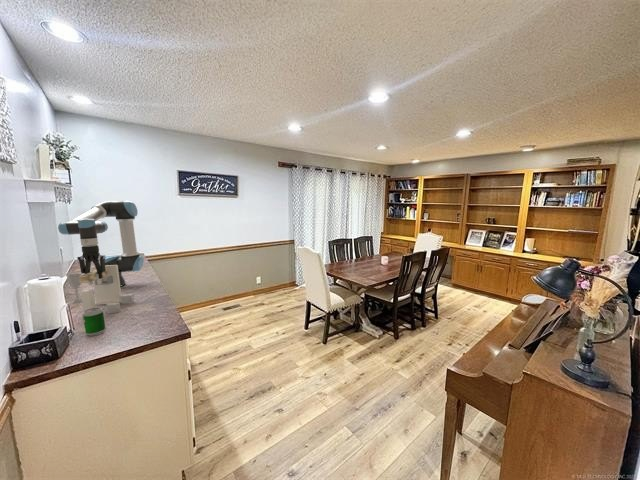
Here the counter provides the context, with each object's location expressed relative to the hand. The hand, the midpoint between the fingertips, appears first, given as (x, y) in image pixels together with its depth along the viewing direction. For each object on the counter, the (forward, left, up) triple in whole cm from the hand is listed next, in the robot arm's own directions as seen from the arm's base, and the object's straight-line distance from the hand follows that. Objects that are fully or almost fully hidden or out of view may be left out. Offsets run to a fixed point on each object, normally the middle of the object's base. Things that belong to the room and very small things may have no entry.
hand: (95, 284), depth 157 cm
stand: (0, +12, -15) cm, 20 cm away
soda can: (+34, +18, -16) cm, 42 cm away
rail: (0, 0, +3) cm, 3 cm away
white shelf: (-1, 0, -15) cm, 15 cm away
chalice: (-16, -21, -16) cm, 31 cm away
